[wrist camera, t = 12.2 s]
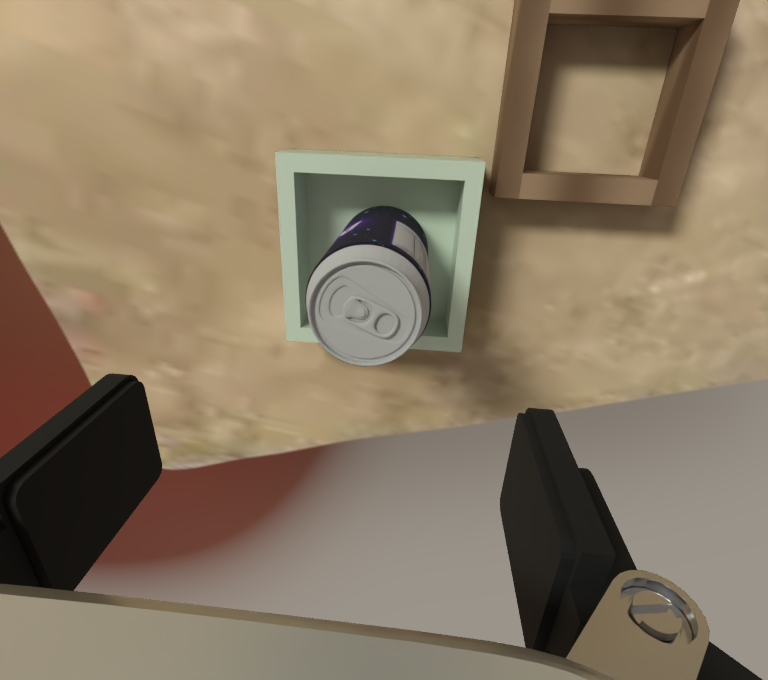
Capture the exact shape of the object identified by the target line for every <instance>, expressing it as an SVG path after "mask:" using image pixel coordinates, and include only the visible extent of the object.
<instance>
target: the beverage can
mask: <svg viewBox="0 0 768 680" xmlns="http://www.w3.org/2000/svg"><path fill="white" fill-rule="evenodd" d="M305 303H306V310H307V314H308V319H309V323H310V326H311V329H312V331H313V334H314V336H315V337H316V339H317V340H318V342H319V343H320V344H321V345H322V346H323V348H324V349H325V350H327V351H328V352H329V353H330V354H331V355H333V356H335V357H336V358H338V359H340V360H342V361H344V362H347V363H350V364H354V365H359V366H376V365H382V364H385V363H388V362H391V361H393V360H395V359H397V358H398V357H400V356H401V355H403V354H404V353H405V352H406V351H407V350H408V349H409V348H410V347H411V346H412V345H413V344H415V343H416V341H417V340H418V339H419V338H420V337H421V335H422V334H423V332H424V330H425V329H426V326H427V324H428V321H429V318H430V314H431V288H430V272H429V256H428V243H427V239H426V235H425V233H424V231H423V229H422V227H421V226H420V224H419V223H418V222H417V220H416V219H415V218H414V217H412V216H411V215H410V214H409V213H407V212H405V211H403V210H401V209H399V208H396V207H392V206H375V207H371V208H368V209H365V210H363V211H362V212H360V213H358V214H357V215H356V216H355V217H353V218H352V219H351V221H350V222H349V223H348V224H347V226H346V227H345V228H344V230H343V231H342V232H341V234H340V235H339V236H338V238H337V239H336V240H335V242H334V243H333V244H332V245H331V247H330V248H329V249H328V251H327V252H326V253H325V255H324V256H323V257H322V259H321V260H320V261H319V263H318V264H317V265H316V267H315V268H314V270H313V271H312V273H311V275H310V277H309V280H308V283H307V287H306V294H305Z"/></svg>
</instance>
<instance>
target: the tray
mask: <svg viewBox="0 0 768 680" xmlns="http://www.w3.org/2000/svg"><path fill="white" fill-rule="evenodd" d="M275 159H276V176H277V193H278V209H279V226H280V243H281V260H282V276H283V293H284V310H285V327H286V341H301V342H316V343H319V342H318V340H317V339H316V337H315V336H314V334H313V331H312V329H311V326H310V323H309V319H308V314H307V310H306V303H305V294H306V287H307V283H308V280H309V277H310V275H311V273H312V271H313V270H314V268H315V267H316V265H317V264H318V263H319V261H320V260H321V259H322V257H323V256H324V255H325V253H326V252H327V251H328V249H329V248H330V247H331V245H332V244H333V243H334V242H335V240H336V239H337V238H338V236H339V235H340V234H341V232H342V231H343V230H344V228H345V227H346V226H347V224H348V223H349V222H350V221H351V219H352V218H353V217H355V216H356V215H357V214H358V213H360V212H362V211H363V210H365V209H368V208H371V207H375V206H392V207H396V208H399V209H401V210H403V211H405V212H407V213H409V214H410V215H411V216H412V217H414V218H415V219H416V220H417V222H418V223H419V224H420V226H421V227H422V229H423V231H424V233H425V235H426V239H427V243H428V256H429V272H430V288H431V314H430V318H429V321H428V324H427V326H426V329H425V330H424V332H423V334H422V335H421V337H420V338H419V339H418V340H417V341H416V343H415V344H413V345H412V346H411V347H410V348H409V349H418V350H433V351H448V352H461V350H462V343H463V335H464V327H465V319H466V311H467V304H468V296H469V288H470V280H471V273H472V265H473V257H474V249H475V242H476V234H477V226H478V218H479V210H480V203H481V195H482V187H483V179H484V172H485V164H486V162H484V161H482V160H481V159H479V158H472V157H451V156H430V155H409V154H388V153H367V152H346V151H325V150H304V149H290V150H284V151H279V152H275Z"/></svg>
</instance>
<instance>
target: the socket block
mask: <svg viewBox="0 0 768 680" xmlns="http://www.w3.org/2000/svg"><path fill="white" fill-rule="evenodd" d="M739 2H740V0H515V2H514V9H513V17H512V24H511V32H510V39H509V47H508V54H507V61H506V69H505V76H504V83H503V91H502V98H501V106H500V113H499V120H498V128H497V135H496V143H495V150H494V157H493V165H492V172H491V180H490V187H489V193H490V194H491V195H493V196H494V197H495V198H513V199H533V200H552V201H571V202H591V203H610V204H629V205H649V206H668V207H676V204H677V201H678V198H679V194H680V191H681V188H682V185H683V182H684V178H685V175H686V172H687V169H688V165H689V162H690V159H691V156H692V153H693V149H694V146H695V143H696V140H697V137H698V133H699V130H700V127H701V124H702V121H703V117H704V114H705V111H706V108H707V104H708V101H709V98H710V95H711V92H712V88H713V85H714V82H715V79H716V76H717V72H718V69H719V66H720V63H721V60H722V56H723V53H724V50H725V47H726V43H727V40H728V37H729V34H730V31H731V27H732V24H733V21H734V18H735V15H736V11H737V8H738V5H739ZM547 24H567V25H597V26H628V27H658V28H678V32H677V36H676V39H675V43H674V47H673V51H672V54H671V58H670V62H669V65H668V69H667V73H666V77H665V80H664V84H663V88H662V91H661V95H660V99H659V103H658V106H657V110H656V114H655V117H654V121H653V125H652V129H651V132H650V136H649V140H648V143H647V147H646V151H645V155H644V158H643V162H642V166H641V169H640V173H639V176H630V175H609V174H589V173H568V172H548V171H527V170H523V169H524V163H525V157H526V151H527V145H528V139H529V133H530V127H531V120H532V114H533V108H534V102H535V96H536V90H537V84H538V78H539V72H540V65H541V59H542V53H543V47H544V41H545V35H546V29H547Z"/></svg>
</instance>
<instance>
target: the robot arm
mask: <svg viewBox="0 0 768 680" xmlns="http://www.w3.org/2000/svg"><path fill="white" fill-rule="evenodd" d="M161 471H162V462H161V457H160V453H159V449H158V444H157V440H156V436H155V432H154V427H153V423H152V419H151V414H150V410H149V406H148V401H147V397H146V393H145V388H144V385H143V384H142V382H139V381H138V379H137V378H136V377H135V376H133V375H123V374H108V375H106V376H104V377H103V378H102V379H101V380H99V381H98V382H97V383H95V384H94V385H93V386H92V387H90V388H89V389H88V390H87V391H85V392H84V393H83V394H81V395H80V396H79V397H78V398H76V399H75V400H74V401H73V402H71V403H70V404H69V405H68V406H66V407H65V408H64V409H62V410H61V411H60V412H58V413H57V414H56V415H55V416H53V417H52V418H51V419H50V420H48V421H47V422H46V423H44V424H43V425H42V426H41V427H40V428H38V429H37V430H36V431H34V432H33V433H32V434H30V435H29V436H28V437H27V438H25V439H24V440H23V441H22V442H20V443H19V444H18V445H17V446H15V447H14V448H13V449H12V450H10V451H9V452H8V453H6V454H5V455H4V456H2V457H1V458H0V680H762V679H761V678H759V677H758V676H757V675H755V674H754V673H752V672H751V671H749V670H748V669H747V668H745V667H744V666H743V665H741V664H740V663H739V662H737V661H736V660H734V659H733V658H732V657H730V656H729V655H727V654H726V653H725V652H723V651H722V650H720V649H719V648H718V647H716V646H715V645H714V644H712V643H711V642H709V627H708V625H707V621H706V618H705V616H704V615H703V613H702V611H701V610H700V608H699V607H698V605H697V604H696V603H695V602H694V601H693V600H692V599H691V598H690V596H689V595H688V594H686V592H685V591H683V590H682V589H681V588H679V587H678V586H676V585H675V584H674V583H672V582H671V581H669V580H667V579H665V578H663V577H661V576H659V575H657V574H654V573H650V572H647V571H643V570H637V569H636V567H635V564H634V562H633V560H632V558H631V556H630V554H629V552H628V549H627V547H626V545H625V543H624V541H623V539H622V537H621V534H620V533H619V530H618V528H617V526H616V524H615V522H614V519H613V517H612V515H611V513H610V511H609V509H608V506H607V504H606V502H605V500H604V498H603V496H602V494H601V492H600V489H599V487H598V485H597V483H596V481H595V479H594V476H593V475H592V473H591V472H590V471H589V470H588V469H585V468H578V466H577V464H576V461H575V459H574V457H573V454H572V452H571V450H570V448H569V445H568V443H567V441H566V438H565V436H564V434H563V431H562V429H561V427H560V424H559V422H558V420H557V418H556V415H555V413H554V411H553V410H548V409H536V408H528V409H527V410H526V412H525V414H523V413H519V414H518V416H517V420H516V424H515V430H514V434H513V439H512V444H511V449H510V454H509V458H508V463H507V468H506V473H505V478H504V482H503V487H502V492H501V497H500V511H501V517H502V522H503V528H504V533H505V538H506V544H507V549H508V554H509V560H510V565H511V571H512V576H513V581H514V587H515V592H516V598H517V603H518V608H519V614H520V619H521V625H522V630H523V635H524V641H525V646H526V648H523V647H518V646H513V645H507V644H502V643H497V642H491V641H485V640H478V639H471V638H463V637H457V636H449V635H442V634H435V633H428V632H420V631H413V630H405V629H397V628H388V627H380V626H373V625H364V624H356V623H348V622H340V621H331V620H323V619H314V618H306V617H298V616H290V615H281V614H272V613H263V612H255V611H247V610H238V609H229V608H220V607H212V606H203V605H194V604H186V603H177V602H167V601H159V600H151V599H141V598H132V597H123V596H114V595H104V594H95V593H86V592H77V591H74V589H75V588H76V587H77V585H78V584H79V583H80V581H81V580H82V579H83V577H84V576H85V575H86V573H87V572H88V571H89V570H90V568H91V567H92V566H93V564H94V563H95V562H96V560H97V559H98V558H99V556H100V555H101V554H102V552H103V551H104V549H105V548H106V547H107V546H108V544H109V543H110V542H111V540H112V539H113V538H114V536H115V535H116V534H117V532H118V531H119V530H120V529H121V527H122V526H123V525H124V523H125V522H126V521H127V519H128V518H129V516H130V515H131V514H132V513H133V511H134V510H135V509H136V507H137V506H138V505H139V503H140V502H141V501H142V500H143V498H144V497H145V496H146V494H147V493H148V492H149V490H150V489H151V487H152V486H153V485H154V484H155V482H156V481H157V480H158V478H159V476H160V474H161Z"/></svg>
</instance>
